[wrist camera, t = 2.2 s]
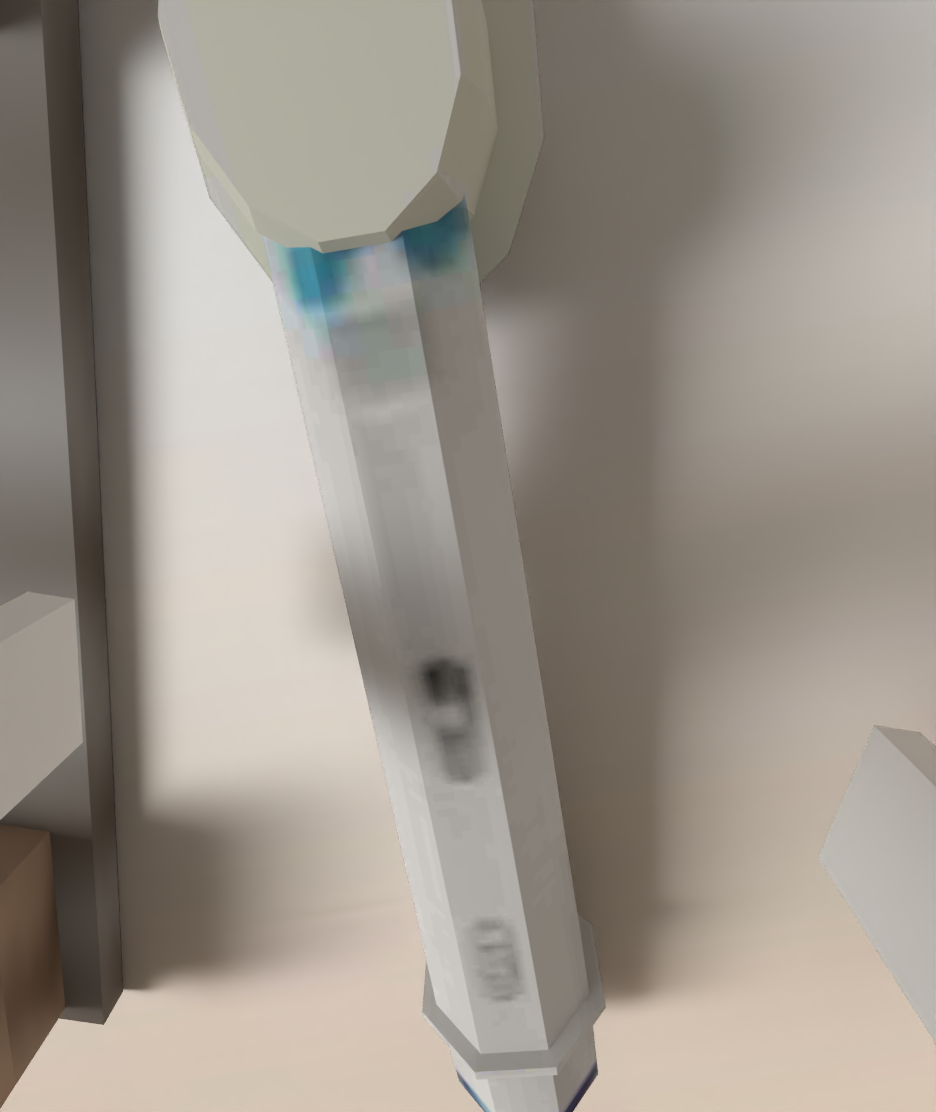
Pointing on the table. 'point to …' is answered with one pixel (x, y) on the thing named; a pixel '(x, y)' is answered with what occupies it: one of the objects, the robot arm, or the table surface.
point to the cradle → (52, 539)
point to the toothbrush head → (416, 463)
